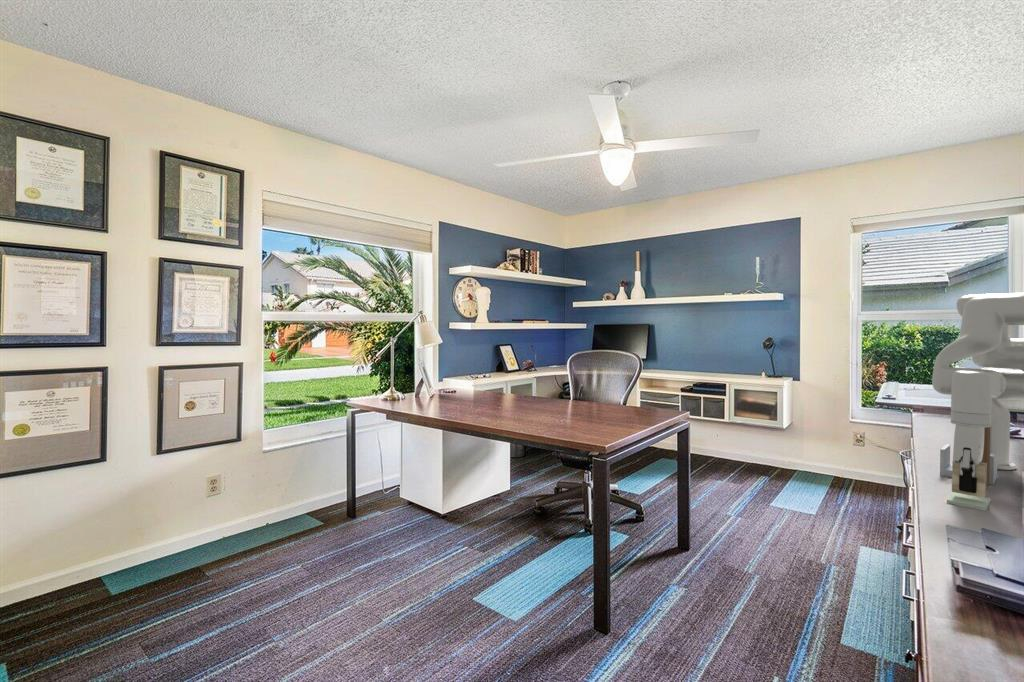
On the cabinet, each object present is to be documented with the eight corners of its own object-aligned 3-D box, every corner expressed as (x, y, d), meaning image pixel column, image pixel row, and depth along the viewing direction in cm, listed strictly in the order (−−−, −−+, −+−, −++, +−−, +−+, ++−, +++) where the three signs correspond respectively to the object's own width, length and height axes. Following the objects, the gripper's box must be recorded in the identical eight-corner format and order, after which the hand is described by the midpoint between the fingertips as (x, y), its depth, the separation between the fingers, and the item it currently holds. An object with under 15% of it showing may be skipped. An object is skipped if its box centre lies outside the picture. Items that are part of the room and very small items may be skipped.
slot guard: (945, 469, 154) (946, 444, 154) (996, 477, 145) (997, 451, 145) (939, 475, 148) (940, 449, 147) (993, 484, 139) (993, 456, 139)
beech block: (954, 488, 128) (955, 458, 128) (985, 494, 123) (986, 463, 123) (951, 491, 125) (952, 461, 125) (984, 497, 121) (984, 466, 121)
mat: (953, 494, 130) (953, 491, 130) (990, 501, 125) (990, 498, 125) (946, 502, 124) (946, 499, 124) (985, 510, 119) (985, 507, 118)
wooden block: (982, 491, 133) (984, 426, 133) (960, 486, 137) (962, 423, 136) (989, 484, 139) (990, 422, 138) (968, 480, 142) (969, 419, 142)
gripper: (956, 413, 132) (954, 480, 133) (945, 420, 121) (943, 493, 122) (994, 417, 127) (993, 486, 127) (987, 425, 116) (985, 501, 116)
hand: (969, 489), depth 124 cm, fingers closed on beech block, 4 cm apart
